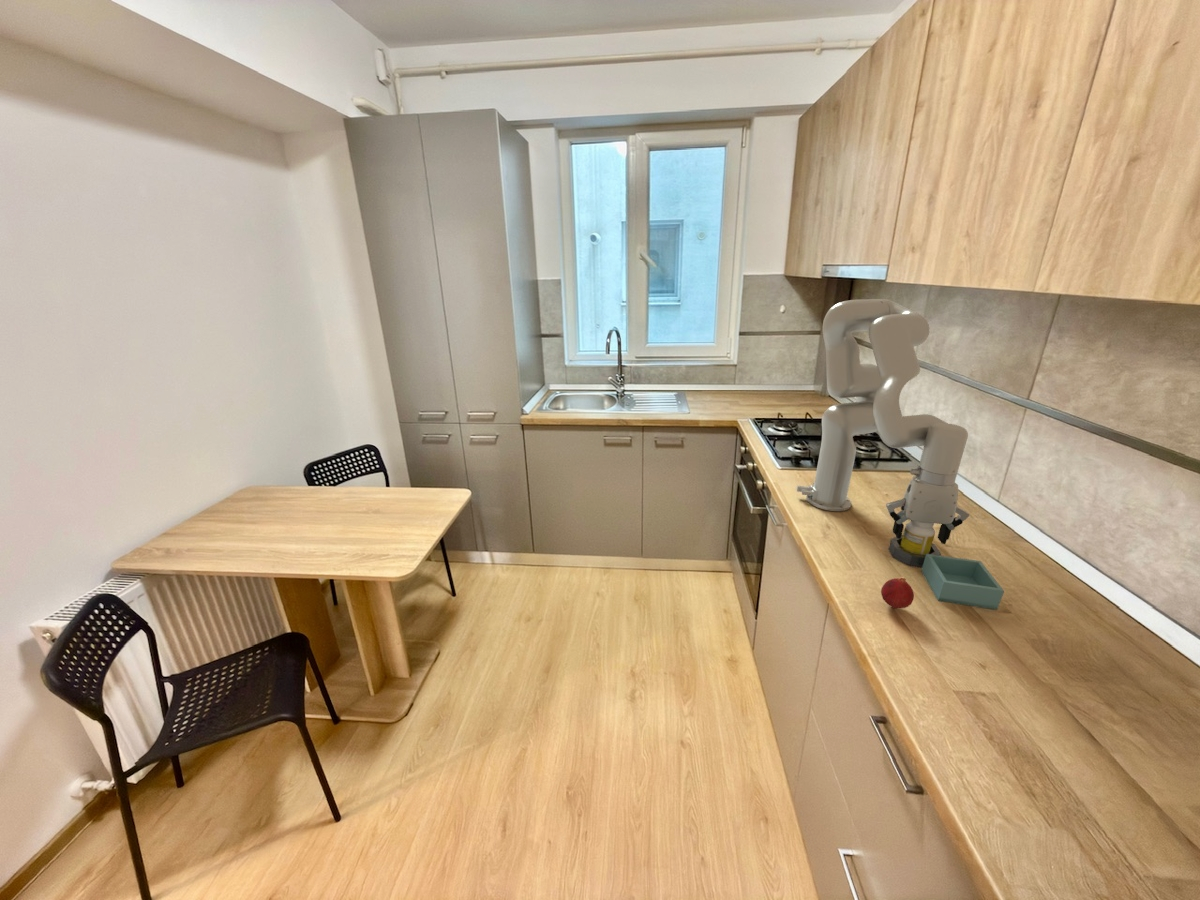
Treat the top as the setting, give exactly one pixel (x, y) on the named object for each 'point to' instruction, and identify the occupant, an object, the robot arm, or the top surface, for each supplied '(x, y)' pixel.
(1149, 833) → the top surface
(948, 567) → the bin
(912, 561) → the socket collar
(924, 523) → the pill bottle
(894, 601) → the onion
